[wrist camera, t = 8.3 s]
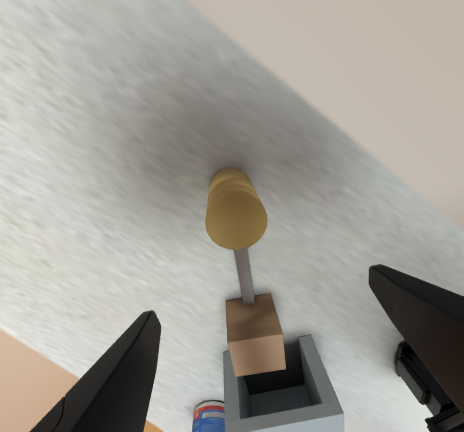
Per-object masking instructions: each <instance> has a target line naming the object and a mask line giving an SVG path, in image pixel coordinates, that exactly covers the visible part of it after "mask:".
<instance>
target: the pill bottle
mask: <svg viewBox="0 0 464 432" xmlns="http://www.w3.org/2000/svg"><path fill="white" fill-rule="evenodd" d="M192 432H225V411H224V403H221V402H216V401H210V402H205V403H202V404H201V405H199V406H198V407H197V408H196V409H195V411H194V415H193V426H192Z"/></svg>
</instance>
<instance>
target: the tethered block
mask: <svg viewBox="0 0 464 432" xmlns="http://www.w3.org/2000/svg"><path fill="white" fill-rule="evenodd" d="M205 222H206V230H207V232H208V234H209V236H210V238H211V239H212V240H213V241H214V242H215V243H216V244H218V245H219V246H221V247H224V248H227V249H233V250H234V253H235V258H236V264H237V270H238V275H239V281H240V287H241V292H242V298H239V299H233V300H227V301H226V321H227V343H228V347H229V352H230V356H231V360H232V364H233V368H234V372H235V377H238V376H244V375H251V374H257V373H263V372H270V371H276V370H282V369H286V365H285V353H284V342H283V333H282V329H281V326H280V323H279V320H278V316H277V313H276V310H275V306H274V303H273V300H272V296H271V294H264V295H258V296H254V294H253V287H252V280H251V273H250V267H249V260H248V253H247V247H249V246H251V245H253V244H255V243H256V242H257V241H258V240H259V239H260V238H261V237H262V236H263V234H264V232H265V230H266V227H267V214H266V211H265V209H264V207H263V205H262V203H261V201H260V199H259V197H258V195H257V194H256V192H255V190H254V188H253V186H252V184H251V182H250V180H249V178H248V176H247V175H246V174H245V173H244V172H242V171H241V170H239V169H236V168H226V169H223V170H220V171H219V172H217V173H216V174H215V175H214V177H213V178H212V180H211V183H210V189H209V197H208V205H207V213H206V221H205Z"/></svg>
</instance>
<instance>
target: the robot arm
mask: <svg viewBox="0 0 464 432" xmlns="http://www.w3.org/2000/svg"><path fill="white" fill-rule="evenodd" d="M369 286H370V288H371V290H372V291H373V293H374V294H375V296H376V298H377V299H378V301H379V302H380V304H381V306H382V307H383V309H384V310H385V312H386V314H387V315H388V317H389V318H390V320H391V321H392V323H393V324H394V325H395V327H396V328H397V330H398V331H399V332H400V333H401V335H402V336H403V337H404V339H405V340H406V341H407V342H405V343H402V344H400V346H399V352H398V359H397V366H396V374H397V375H398V376H401V377H402V379H403V380H404V382H405V383H406V384H407V386H408V387H409V389H410V390H411V391H412V393H413V394H414V396H415V397H416V399H417V400H418V401H419V403H421V404H422V405H426V406H427V407H428V409H429V410H430V412H431V413H432V414H433V417H431V418H429V417H428V418H426V419H425V421H426V423H427V425H428V426H427V428H428V430H429V431H430V432H464V296H461V295H459V294H456V293H453V292H451V291H448V290H446V289H443V288H441V287H438V286H436V285H433V284H430V283H428V282H425V281H423V280H420V279H418V278H415V277H413V276H410V275H407V274H405V273H402V272H400V271H397V270H395V269H392V268H390V267H387V266H384V265H382V264H378V265H373V266H371V267H370V268H369ZM160 335H161V324H160V322H159V320H158V318H157V316H156V313H155V312H154V311H153V310H151V311H146V312H143V313H142V314H141V315H140V316H139V317H138V318H137V319H136V320H135V321H134V322H133V324H132V325H131V326H130V327H129V328H128V329H127V330H126V331H125V332H124V333H123V334H122V335H121V336H120V337H119V338H118V339H117V340H116V342H115V343H114V344H113V345H112V346H111V347H110V348H109V349H108V350H107V351H106V352H105V353H104V354H103V355H102V356H101V357H100V358H99V360H98V361H97V362H96V363H95V364H94V365H93V366H92V367H91V368H90V369H89V370H88V371H87V372H86V373H85V374H84V375H83V376H82V378H81V379H80V380H79V381H78V382H77V383H76V384H75V385H74V386H73V387H72V388H71V389H70V390H69V391H68V392H67V393H66V395H65V397H63V398H62V399H61V400H60V401H59V402H58V403H57V404H56V405H55V406H54V407H53V408H52V409H51V410H50V411H49V412H48V413H47V414H46V415H45V417H43V418H42V420H41V421H40V422H39V423H38V424H37V425H36V426H35V427H34V428H33V429H32V430H31V431H30V432H143V430H144V426H145V421H146V416H147V412H148V407H149V402H150V398H151V393H152V388H153V383H154V379H155V374H156V369H157V362H158V353H159V344H160Z"/></svg>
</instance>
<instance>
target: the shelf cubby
mask: <svg viewBox="0 0 464 432" xmlns="http://www.w3.org/2000/svg"><path fill="white" fill-rule="evenodd" d="M298 339H299V346H300V353H301V360H302V368H303V375H304V382H305V385H301V386H295V387H290V388H285V389H280V390H275V391H270V392H264V393H259V394H254V395H249V392H248V389H247V386H246V383H245V380H244V377H243V376H238V377H235V372H234V368H233V364H232V360H231V356H230V352H229V351H227V352H223V364H224V411H225V432H344V412H343V410H342V408H341V405H340V403H339V401H338V398H337V396H336V394H335V391H334V389H333V387H332V384H331V382H330V380H329V377H328V375H327V373H326V370H325V368H324V366H323V363H322V361H321V359H320V356H319V354H318V352H317V349H316V347H315V345H314V342H313V340H312V338H311V335H307V336H302V337H298Z"/></svg>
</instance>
